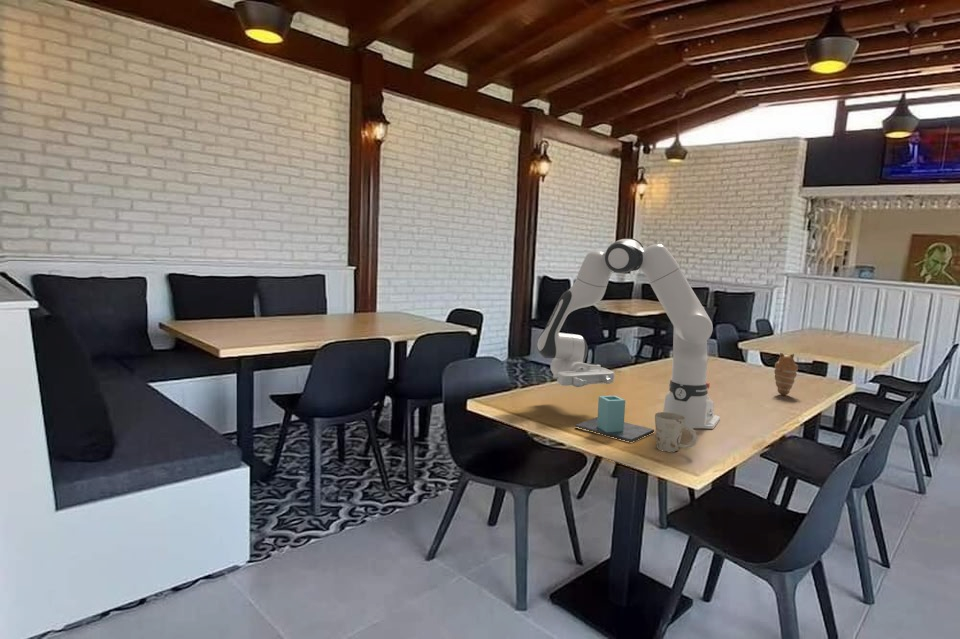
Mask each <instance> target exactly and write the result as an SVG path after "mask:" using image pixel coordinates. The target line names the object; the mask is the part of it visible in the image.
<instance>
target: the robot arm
mask: <svg viewBox="0 0 960 639" xmlns="http://www.w3.org/2000/svg"><path fill="white" fill-rule="evenodd" d="M638 270H639V271H641V272H642V273H643V275H644V276H645V278H646V279H647V282H648V283H649V285H650V287H651V288H652V290H653V292H654V294H655V296H656V298H657V299H658V301H659V303H660V305H661V307H662V308H663V310H664V312H665V314H666V315H667V317H668V319H669V320H670V322H671V324H672V326H673V336H672V337H673V339H672V340H673V341H672V342H673V345H672V365H671V366H672V368H671V380H669V386H668V387H669V388H668V389H669V392H668V393H666V395H665V397H664V402H663V403H664V404H663V409H662V412H670V413H676V414H680V415H682V416H684V417H685V421H684V425H687V426H690V427H692V428H693V429H709V430H711V429H712V430H713V429H714V428H715V427H717V426H716V425H718V423H719V422H720V421H721V416H718V415H717V414H714V408H715V405H714V401H713V400H712V399H711V398H710V396H709V395H708V394H709V393H708V391H709V389H710V386H711V384H710V382H707V374H708V373H707V372H708V360H709V359H708V340H709V339H710V338H711V336H712V333H713V328H714V327H713V321H712V320H711V318H710V316H709V315H708V313H707V311H706V309H705V308H704V306H703V305H702V303H701V301H700V300H699V298H698V296H697V295H696V293H695V292H694V290H693V288H692V287H691V285H690V283H689V281H688V280H687V278H686V275H685V274H684V272H683V271H682V268H681V267H680V265H679V263H678V262H677V260H676V259H675V258H674V256H673V254H672V253H671V252H670V251H669V250H668V248H667V247H666V246H664V245H663V244H660V243H655V244H654V243H653V244H650V245H649V246H646V247H644V246H643V244H642V243H641V242H640V240H637V239H635V238H632V237H631V238H630V237H629V238H628V237H627V238H622V239H618V240H616V241H614V242H613V243H611V244H610V245H609V246H608V247H607V249H606V250H605V251H601V250H592V251H589V252H588V253H587V254H586V256H585V257H584V259H583V262H582V263H581V266H580V268H579V270H578V273H577V276H576V279H575V281H574V283H573V284H572V286H571V287H570V288H569V289H568V290H565V291H564V292H563V293H562V295H561V296H560V298H559V299H558V300H557V301H558V302H557V303H556V305H555V307H554V309H553V311H552V313H551V314H550V317H549V320H548V321H547V323H546V325H545V327H544V329H543V331H542V332H541V333H540V335H539V336H538V339H537V342H536V349H537V351H538V353H539V354H540V355H541V356H542V357H543V358H544V359H552V360H551V363H550V371H551V372H552V374H553V375H552V378H553V379H554V380H556V381H557V383H558V384H559V385H561V386H565V387H567V386H573V387H575V388H581V387H584V386H588V385H596V384H612V383H614V382H615V372H614V371H612V370H610V369H608V368H606V367H601V364H597V363H596V364H595V363H585V361H586V360H587V356H588V344H587V341H586V339H585V338H584V336H582V335H581V334H576V333H575V334H574V333H566V332H560V331H561V329H562V327H563V325H564V323H565V321H566V319H567V317H568V315H570V314H571V313H572V312H574V311H576V310H579V309H582V308H588V307H591V306H594V305H596V304H597V303H599V302H600V301H601V300H603V297H604V296H605V294H606V290H607V286H608V284H609V281H610V278H611V276H612V274H613V273H618V274H619V273H620V274H625V273H630V272H636V271H638Z"/></svg>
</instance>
